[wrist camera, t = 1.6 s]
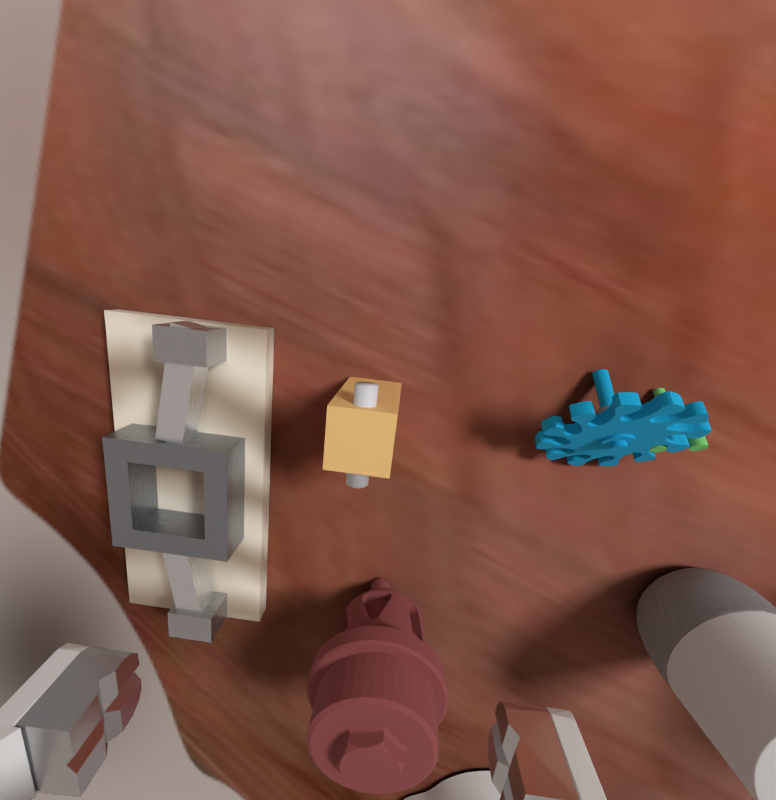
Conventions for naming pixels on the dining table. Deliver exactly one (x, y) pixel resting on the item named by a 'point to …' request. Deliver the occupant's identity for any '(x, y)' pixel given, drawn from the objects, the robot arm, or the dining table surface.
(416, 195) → the dining table surface
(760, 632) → the smart speaker
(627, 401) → the blue toothed wheel
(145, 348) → the board
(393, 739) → the mechanical component
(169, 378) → the shaft assembly
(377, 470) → the coupler
